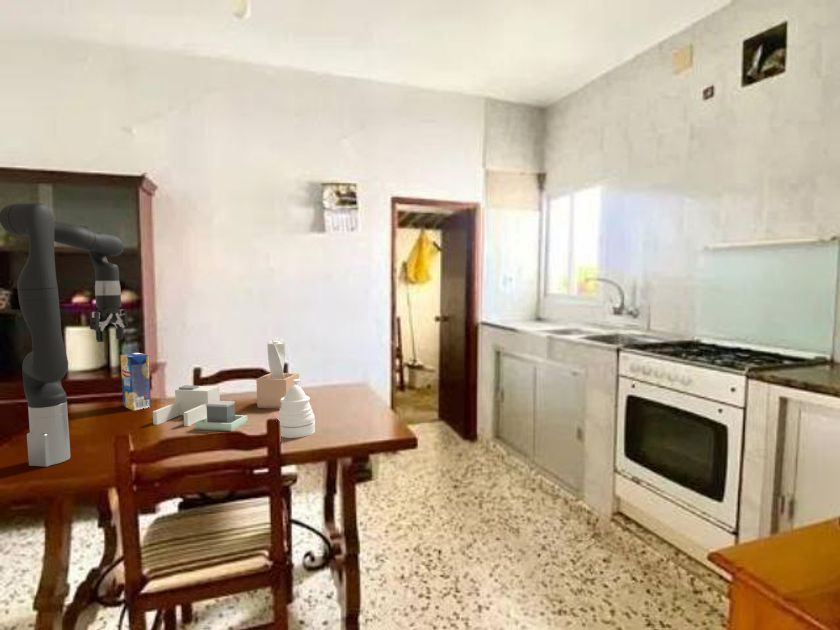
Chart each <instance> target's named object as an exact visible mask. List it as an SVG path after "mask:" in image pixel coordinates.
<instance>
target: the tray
mask: <svg viewBox="0 0 840 630" xmlns="http://www.w3.org/2000/svg"><path fill="white" fill-rule="evenodd" d="M247 423H248V415H243V414H241V415H239V414H235V421H233V422H232V423H215V422H207V417H206V418H204V419H201V420H199V421H197V422H195V423H194V426H195V427H194V428H195V430H201V431H202V430H203V431H218V432H219V431H222V432H233V431H235V430H236V429H238V428H240V427H242V426H243V425H245V424H247Z"/></svg>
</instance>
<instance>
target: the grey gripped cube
mask: <svg viewBox="0 0 840 630" xmlns="http://www.w3.org/2000/svg"><path fill="white" fill-rule="evenodd" d="M235 404H236V401H234V400H220V401H216V400H214V401H212V402H210V403H207V404H206V406H207V422H215V423H232V422H233V421H235V415H236V409H235V407H236V406H235Z"/></svg>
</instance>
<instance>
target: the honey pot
mask: <svg viewBox="0 0 840 630" xmlns="http://www.w3.org/2000/svg"><path fill="white" fill-rule="evenodd" d="M293 381H294V384H295V385H292V386H291V387H290V388H289V389H288V391H287V393H286V395H285V397H283V398H281V399H280V402H281V403H282V405H281V408H279V412H278V416H277V418H276V420H277V419H278V420H279V421H280V425H281V434H282V437H281V438H287V439H288V438H289V439H292V438H293V439H294V438H303V437H306V436H310V435H313V434H314V433H315V432H316V419H315V418H316V417H315V414H314V410H313V409H312V406H311V404H310V400H311V397H310V396H308V395H306V393H305V391H304V390H303V388H302V387H301V386H300V384H301V382H302V379H300V378H299V379H294V380H293ZM298 385H299V386H298Z"/></svg>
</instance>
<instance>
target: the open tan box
mask: <svg viewBox="0 0 840 630" xmlns="http://www.w3.org/2000/svg"><path fill="white" fill-rule="evenodd" d="M283 373H284V379H270V376H271V372H270V373H268V374H265V375H262V376H260V377H258V378H255V380H256V383H255V384H256V402H257V403H256V405H257V407H256V408H259V409H260V408H262V409H280V408H281V405H282V403H281V402H280V399H281V398H283V397H285V395H286V393H287V391H288V389H289V388H290V387H291V386H292V385H295V384H294V381H293V380H294V379H300V374H299V373H293V372H292V373H290V372H288V376H289V377H287V372H283ZM298 386H300V384H299V385H298Z"/></svg>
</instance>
